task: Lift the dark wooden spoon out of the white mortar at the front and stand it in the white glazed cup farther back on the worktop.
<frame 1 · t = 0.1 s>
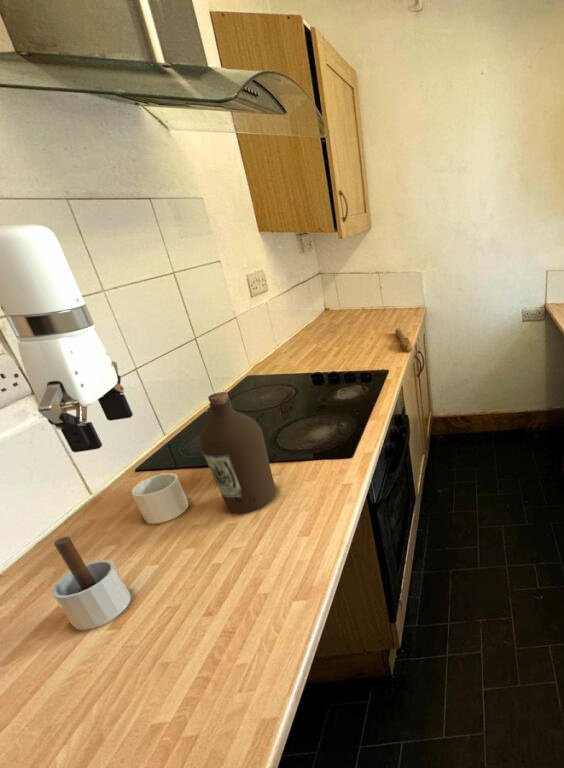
hand: (105, 432, 63), 27 cm above the table, tool pointing down, fingers open, 9 cm apart
white cup: (167, 511, 87), on the table
rough brown stick: (403, 343, 189), on the table
white mortar: (102, 609, 66), on the table
olive oil: (252, 500, 90), on the table
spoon: (101, 607, 66), resting on white mortar
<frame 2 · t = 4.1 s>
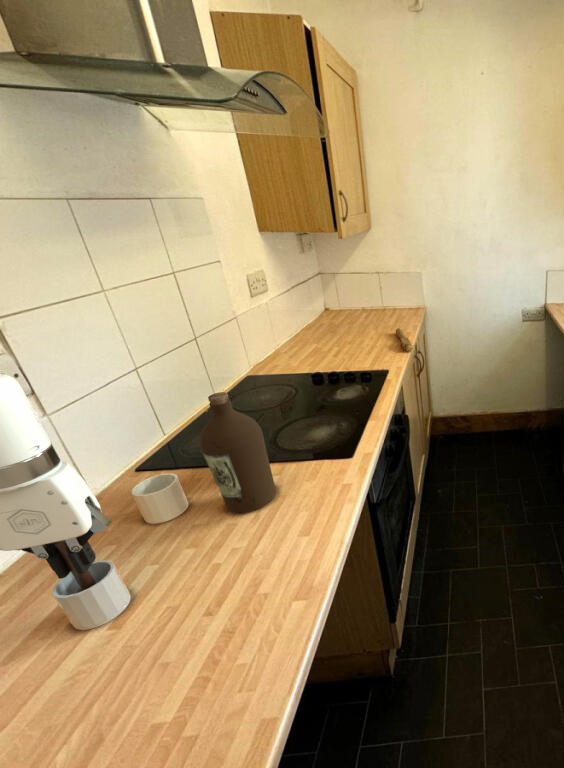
hand: (78, 568, 62), 9 cm above the table, tool pointing down, fingers closed on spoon, 1 cm apart
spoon: (101, 607, 66), point 1 cm above the table, touching gripper, white mortar
everything else where it was.
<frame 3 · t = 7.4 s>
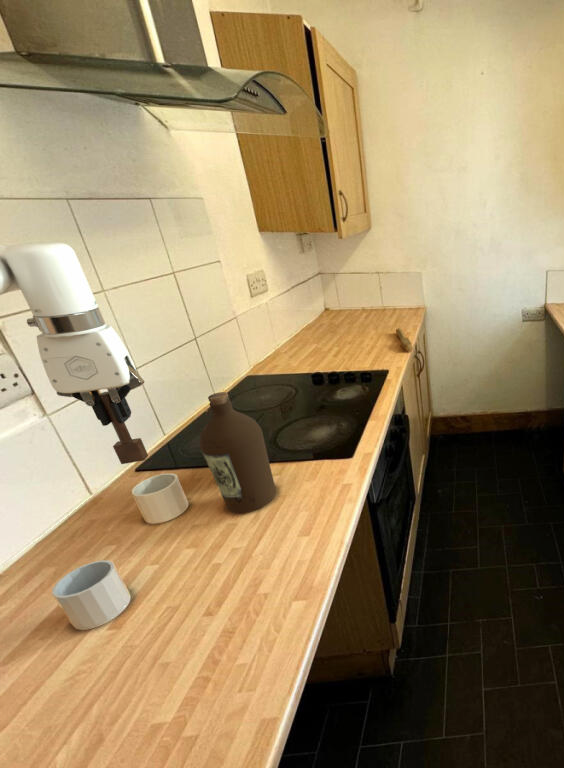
hand: (117, 420, 75), 23 cm above the table, tool pointing down, fingers closed on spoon, 1 cm apart
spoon: (135, 459, 79), point 14 cm above the table, touching gripper
everything else where it was.
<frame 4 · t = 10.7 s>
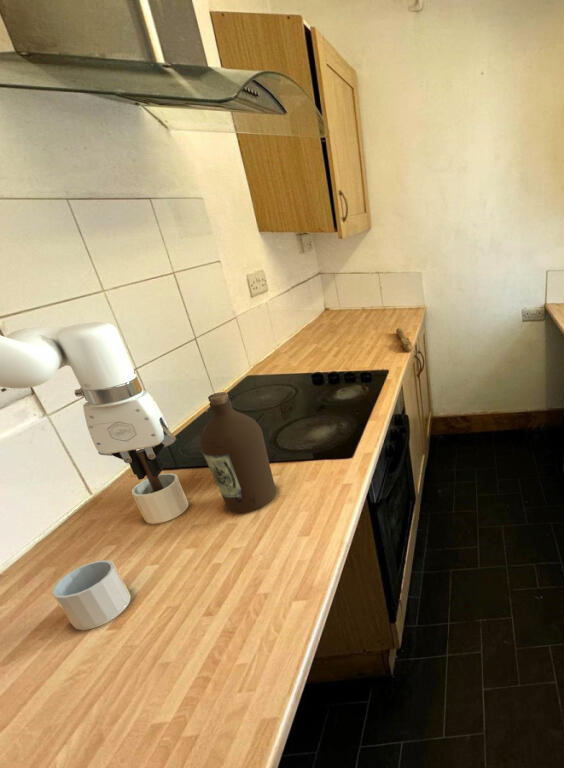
hand: (151, 473, 83), 9 cm above the table, tool pointing down, fingers closed on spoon, 1 cm apart
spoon: (166, 507, 86), point 1 cm above the table, touching gripper
everything else where it was.
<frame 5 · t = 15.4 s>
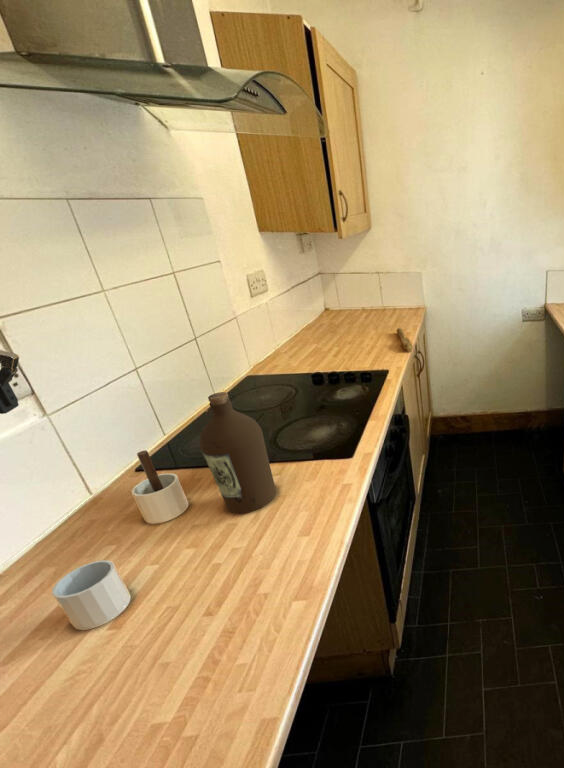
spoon: (167, 509, 87), resting on white cup
everything else where it was.
at the end: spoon 0.1 cm off-centre in the white cup, point 0.5 cm above the white cup's base; the gripper is holding nothing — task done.
